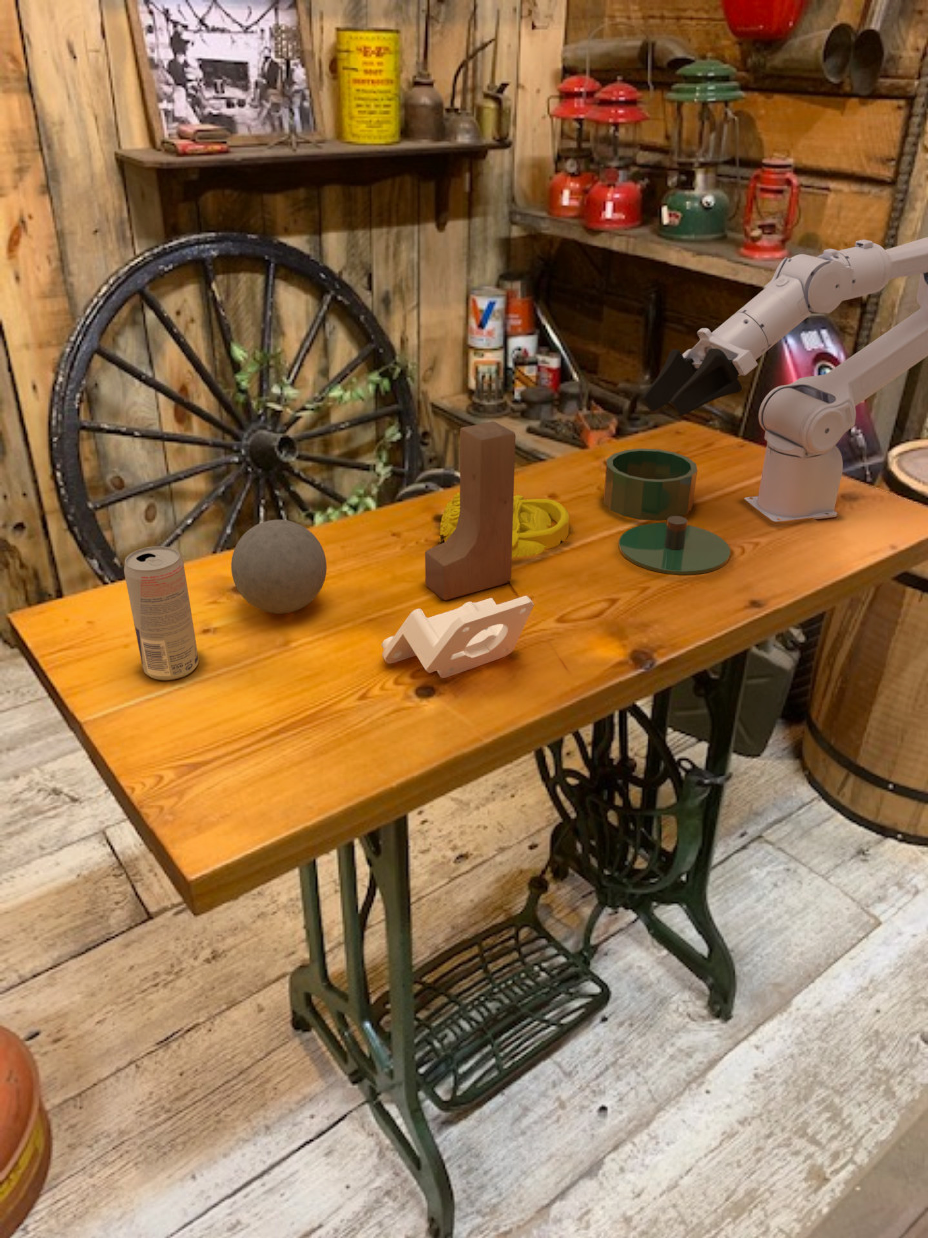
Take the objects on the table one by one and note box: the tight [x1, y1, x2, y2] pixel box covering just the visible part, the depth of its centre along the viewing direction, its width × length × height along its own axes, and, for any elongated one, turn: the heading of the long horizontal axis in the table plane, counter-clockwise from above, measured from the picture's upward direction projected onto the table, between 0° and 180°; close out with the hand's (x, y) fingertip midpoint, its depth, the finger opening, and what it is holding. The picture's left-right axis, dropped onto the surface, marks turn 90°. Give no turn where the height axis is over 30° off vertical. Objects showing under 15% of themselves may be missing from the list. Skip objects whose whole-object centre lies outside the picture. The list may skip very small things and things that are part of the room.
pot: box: [603, 448, 698, 522], centre depth 130 cm, size 12×12×6 cm
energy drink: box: [123, 545, 200, 681], centre depth 94 cm, size 5×5×12 cm
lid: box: [618, 516, 731, 576], centre depth 118 cm, size 13×13×4 cm
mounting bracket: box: [381, 595, 535, 679], centre depth 95 cm, size 12×6×11 cm, turn 123°
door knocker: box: [439, 492, 570, 559], centre depth 123 cm, size 17×16×4 cm
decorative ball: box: [230, 519, 327, 615], centre depth 105 cm, size 10×10×10 cm
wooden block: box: [424, 421, 517, 601], centre depth 108 cm, size 9×4×18 cm, turn 120°
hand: (661, 406), depth 114 cm, fingers open, 7 cm apart
